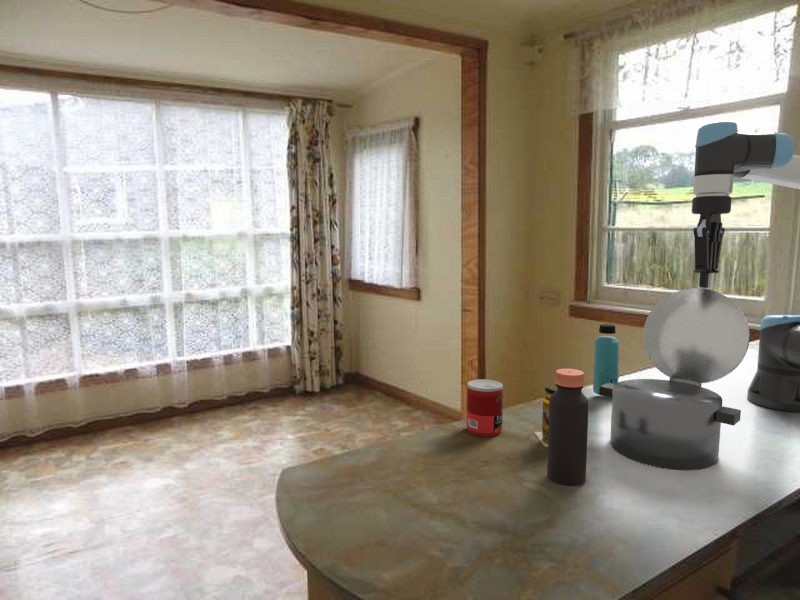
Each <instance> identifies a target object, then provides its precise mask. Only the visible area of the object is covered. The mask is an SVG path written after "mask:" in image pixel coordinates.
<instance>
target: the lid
mask: <svg viewBox="0 0 800 600" xmlns="http://www.w3.org/2000/svg"><path fill="white" fill-rule="evenodd" d="M642 332H643V333H642V334H643V335H642V339H643V340H642V341H643V346H644V350H645V353H646V355H647V358H648V359H649V360H650V362H651V364H653V366H654V367H655V368H656V369H657V370H658V371H659V372H661V373H662V374H663V375H665V376H667V377H669V381H676V382H682V383H687V384H692V385H696V386H700V387H702V384H708V383H713V382H715V381H718V380H721V379H723V378H724V377H727V376H728V375H729V374H731V373H732V372H733V371H734V370H736V369H737V368H738V367H739V365H740V364H741V363H742V362H743V360H744V358H745V357H746V354H747V352H748V350H749V346H750V340H751V338H750V337H751V334H750V327H749V322H748V320H747V317H746V316H745V314H744V311H743V310H742V309H741V308H740V306H739V305H737V304H736V303H735V302H734V301H733V300H732V299H731V298H729V297H727V296H726V295H724V294H722V293H720V292H717V291H715V290H713V291H712V290H708V289H702V288H698V287H697V288H695V287H694V288H693V287H692V288H685V289H680V290H678V291H676V292H673V293H671V294H669V295H667V296H665V297H664V298H663V299H661V300H660V301H659V302H658V303H656V305H655V306H653V308H652V310H651V311H650V312H649V314H648V316H647V318H646V320H645V322H644V327H643V331H642Z"/></svg>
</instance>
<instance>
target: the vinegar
mask: <svg viewBox="0 0 800 600" xmlns="http://www.w3.org/2000/svg"><path fill="white" fill-rule="evenodd" d="M554 372H555V376H554V378H555V379H554V383H555V386H556V387H557V390H556V391H555V392H554V393H553V394H552V395H551V396H550V399H549V429H548V447H547V466H546V467H547V468H546V469H547V471H546V472H547V473H546V474H547V477H548V479H549V480H551V482H553V483H555V484H558V485H562V486H568V487H574V486H575V487H577V486H580V485H582V484H584V483H585V482H586V480H587V461H588V460H587V458H588V457H587V454H588V433H589V432H588V430H589V403H590V402H589V399H588V398H587V396H585V394H584V392H582V391H583V389H584V382H585V372H584V371H583V370H579V369H574V368H558V369H556V370H555V371H554Z"/></svg>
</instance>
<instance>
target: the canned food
mask: <svg viewBox="0 0 800 600" xmlns="http://www.w3.org/2000/svg"><path fill="white" fill-rule="evenodd" d="M466 384H467V385H466V386H467V387H466V429H467V431H468V433H470V434H472V435H475V436H478V437H487V438H488V437H496V436H498V435H500V434H501V433H502V430H503V411H504V409H503V407H504V406H503V405H504V403H503V402H504V400H503V399H504V398H503V397H504V387H503V383H502V382H500V381H497V380H495V379H494V380H493V379H482V378H479V379H473V380H470V381H468V382H467V383H466Z"/></svg>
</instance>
